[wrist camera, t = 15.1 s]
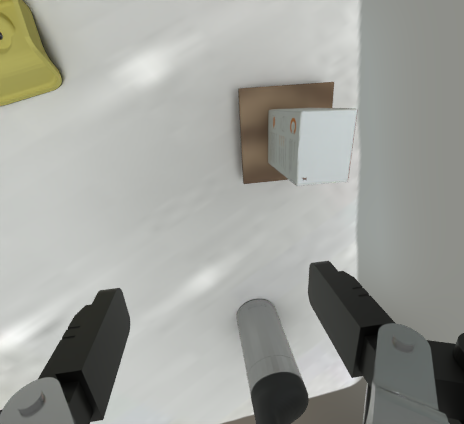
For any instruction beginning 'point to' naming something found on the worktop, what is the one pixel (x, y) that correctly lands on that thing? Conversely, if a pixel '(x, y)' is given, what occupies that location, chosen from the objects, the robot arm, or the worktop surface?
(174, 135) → the worktop surface
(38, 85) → the plastic component
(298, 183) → the small box
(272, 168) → the walnut stand
